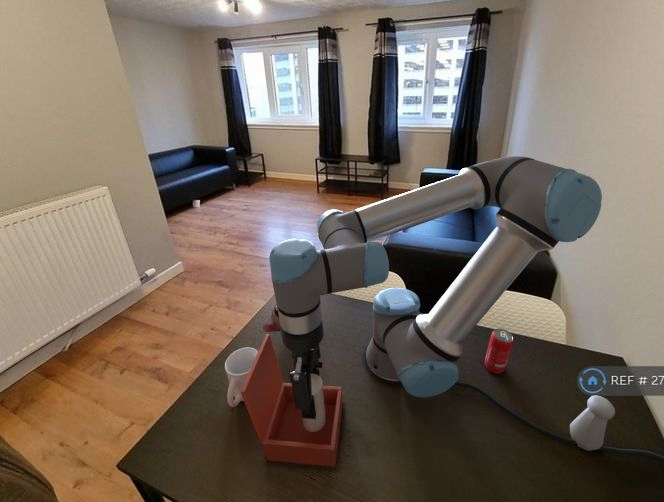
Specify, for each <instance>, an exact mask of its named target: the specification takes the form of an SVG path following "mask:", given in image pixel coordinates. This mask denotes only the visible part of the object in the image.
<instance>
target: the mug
mask: <svg viewBox="0 0 664 502" xmlns="http://www.w3.org/2000/svg"><path fill="white" fill-rule="evenodd" d="M258 351H259V350H258V349H256V348H254V347H249V346H247V347H241V348H239V349H237V350H234V351H233V352H231V353H230V354H229V355H228V357H227V358H226V360H225V363H224V370H225V374H226V376H227V380H228V388H227V395H226V398H227V404H228V405H229V407H230V408H235V407H237V406H238V405H239V404H240V402H244V400H243V397H242V395H241V389H242V387H243V385H244V383H245V381H246V378H247V376H248V374H249V372H250V369H251V367H252V365H253V363H254V360H255V358H256V356H257V354H258Z"/></svg>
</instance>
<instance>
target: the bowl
mask: <svg viewBox="0 0 664 502" xmlns="http://www.w3.org/2000/svg"><path fill="white" fill-rule="evenodd" d="M276 306H277V303H276V304H274V306H273V307H272V308H271V315H270V321H268V322H265V323H264V324H263V326H262V330H263V331H264V332H267V333H273V332H281V325H280V320H279V314H278V311H276V309H275V308H276Z"/></svg>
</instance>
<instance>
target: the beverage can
mask: <svg viewBox="0 0 664 502" xmlns="http://www.w3.org/2000/svg"><path fill="white" fill-rule="evenodd" d="M513 344H514V337H513V334H512V333H511V332H509V330H507V329H504V328H495V329H494V330H493V331H492V332H491V335H490V338H489V343H488V346H487V350H486V354H485V358H484V364H485V368H486V369H487V370H488V371H489V372H490V373H492V374H495V375H500V374H502V373H503V372H504V371H505V370H506V367H507V364H508V360H509V357H510V354H511V351H512V348H513Z"/></svg>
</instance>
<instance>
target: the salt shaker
mask: <svg viewBox="0 0 664 502" xmlns="http://www.w3.org/2000/svg"><path fill="white" fill-rule="evenodd" d="M586 403H587V405H586V406H587V407H586V408H585V409H584V410H583V411H582V412H581V413H580V414H579V415H577V417H576V418H575V419H573V420H572V422H571V423H570V424H569V434H570V439H573V440H575V441H576V442H577V444H578V445H576V447H578V448H581V449H583V450H585V451H586V452H591V451H595V450H596V449H599V448H600V447H601V446H604V440H605V435H606V430H607V424H608V420H612V419H613V417H614V416H615V414H616V410H615V407H614V405H613V404H612V403H611V401H610V400H608V399H607V398H605V397H604V396H600V395H591V396H590V397H589V398H588V399H587V401H586ZM596 451H597V450H596Z"/></svg>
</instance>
